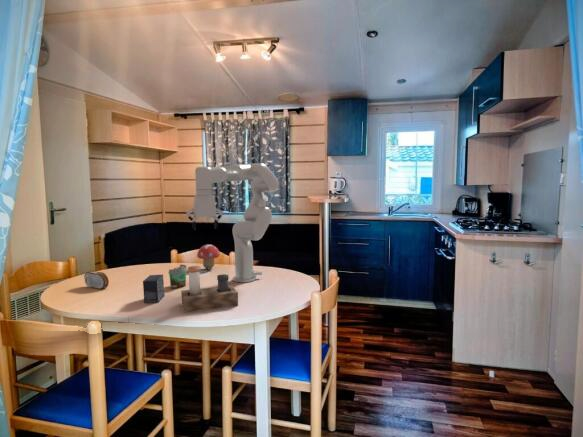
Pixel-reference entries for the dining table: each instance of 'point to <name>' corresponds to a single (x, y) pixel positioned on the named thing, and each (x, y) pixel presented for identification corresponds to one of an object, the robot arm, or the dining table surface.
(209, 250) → the decorative mushroom
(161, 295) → the small box
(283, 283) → the dining table surface
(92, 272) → the tin
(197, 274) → the orange-brown and white plug
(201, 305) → the block
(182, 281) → the food container
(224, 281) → the black plug
